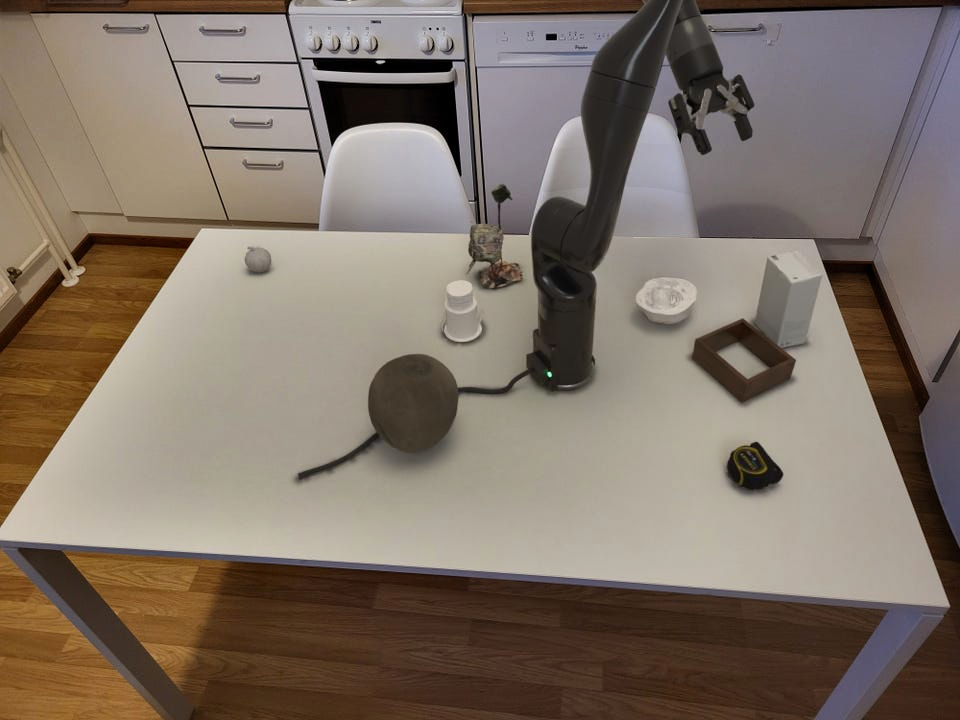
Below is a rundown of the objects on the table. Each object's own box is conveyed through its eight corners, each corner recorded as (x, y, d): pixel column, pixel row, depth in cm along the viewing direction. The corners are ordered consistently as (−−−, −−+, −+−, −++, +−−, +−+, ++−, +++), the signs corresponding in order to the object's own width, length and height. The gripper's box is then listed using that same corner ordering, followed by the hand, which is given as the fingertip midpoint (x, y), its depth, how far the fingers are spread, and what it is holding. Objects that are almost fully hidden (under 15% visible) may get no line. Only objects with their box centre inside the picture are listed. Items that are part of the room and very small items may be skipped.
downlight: (477, 314, 147) (474, 271, 140) (489, 337, 142) (487, 294, 135) (437, 324, 145) (432, 282, 138) (448, 347, 140) (443, 305, 133)
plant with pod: (468, 265, 158) (461, 179, 144) (523, 264, 157) (521, 177, 143) (466, 290, 152) (458, 202, 138) (523, 289, 151) (521, 201, 138)
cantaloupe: (468, 460, 121) (462, 394, 110) (378, 475, 119) (363, 409, 109) (455, 397, 131) (448, 330, 121) (372, 410, 130) (358, 344, 119)
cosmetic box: (805, 344, 136) (826, 276, 126) (773, 350, 135) (792, 283, 125) (781, 314, 142) (799, 248, 132) (750, 321, 141) (767, 254, 131)
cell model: (707, 316, 143) (713, 287, 138) (659, 342, 138) (664, 313, 133) (668, 289, 149) (672, 260, 144) (621, 314, 144) (624, 285, 140)
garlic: (241, 268, 161) (235, 247, 158) (264, 257, 164) (258, 236, 160) (256, 280, 158) (250, 259, 155) (279, 268, 161) (273, 248, 157)
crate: (741, 403, 126) (747, 383, 123) (691, 358, 135) (695, 339, 132) (790, 379, 130) (796, 359, 127) (738, 337, 138) (742, 317, 135)
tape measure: (782, 486, 114) (787, 470, 111) (740, 499, 113) (745, 483, 110) (756, 453, 119) (761, 437, 116) (716, 465, 117) (720, 449, 115)
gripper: (668, 53, 121) (706, 149, 121) (739, 32, 125) (775, 125, 125) (644, 74, 128) (680, 166, 128) (711, 54, 132) (746, 142, 133)
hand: (727, 146), depth 127 cm, fingers open, 8 cm apart
